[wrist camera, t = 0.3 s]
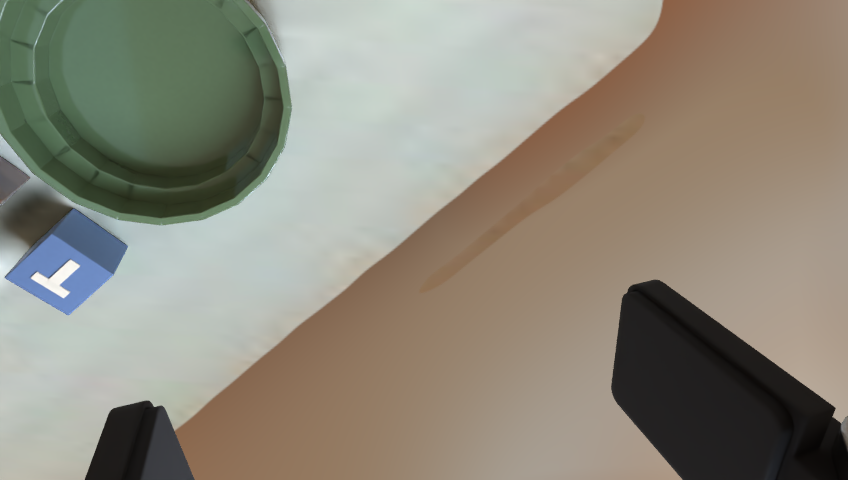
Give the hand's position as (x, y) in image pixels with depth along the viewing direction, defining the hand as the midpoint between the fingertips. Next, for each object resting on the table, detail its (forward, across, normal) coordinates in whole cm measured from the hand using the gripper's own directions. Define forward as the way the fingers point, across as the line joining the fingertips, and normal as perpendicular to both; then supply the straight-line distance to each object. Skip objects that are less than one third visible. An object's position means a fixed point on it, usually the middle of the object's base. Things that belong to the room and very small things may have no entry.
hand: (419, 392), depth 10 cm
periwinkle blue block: (+37, +20, +10) cm, 43 cm away
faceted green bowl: (+37, +10, -2) cm, 38 cm away
